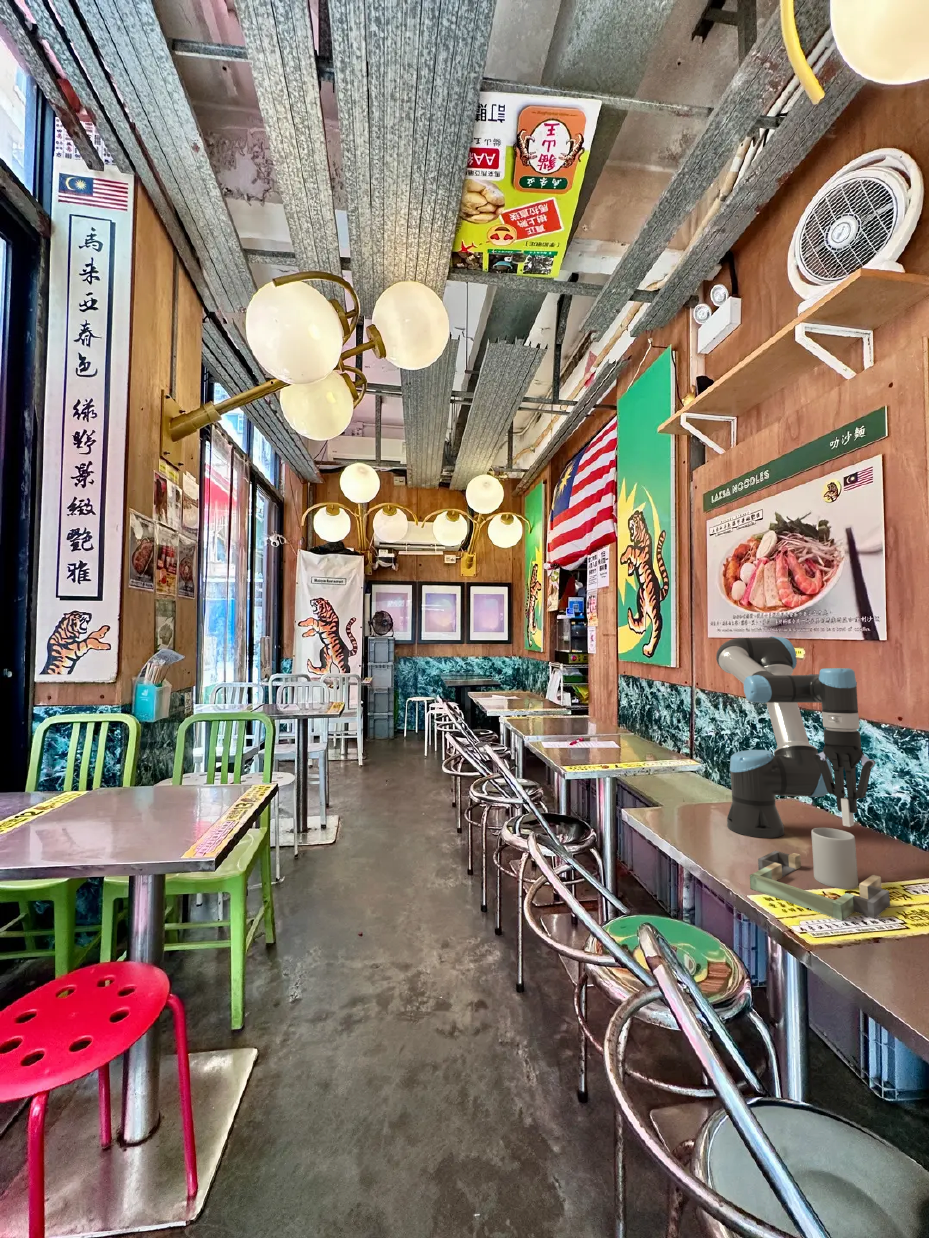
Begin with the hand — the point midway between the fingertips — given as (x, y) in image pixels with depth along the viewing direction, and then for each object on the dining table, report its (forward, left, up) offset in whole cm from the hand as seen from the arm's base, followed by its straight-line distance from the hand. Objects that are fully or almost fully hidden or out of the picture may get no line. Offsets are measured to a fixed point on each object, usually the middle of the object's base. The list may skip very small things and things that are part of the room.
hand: (848, 824), depth 130 cm
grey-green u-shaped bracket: (+20, 0, -11) cm, 22 cm away
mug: (+10, 0, -11) cm, 14 cm away
